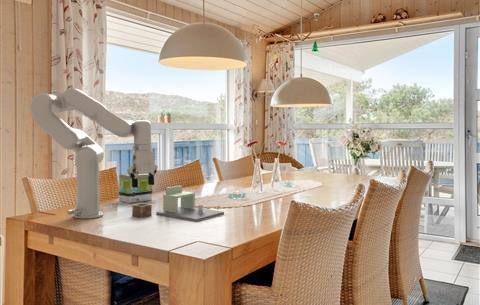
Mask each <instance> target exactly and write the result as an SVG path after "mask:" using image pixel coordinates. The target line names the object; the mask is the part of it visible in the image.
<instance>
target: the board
mask: <svg viewBox="0 0 480 305" xmlns="http://www.w3.org/2000/svg"><path fill="white" fill-rule="evenodd" d="M155 214H156V215H157V216H162V217H168V218H173V219H179V220H185V221H191V222H196V223H197V222H200V221H201V222H202V221H204V220H208V219H212V218H215V217H220V216H223V215H225V211H221V210H216V209H209V208H204V205H203V204H202V203H201V204H198V207H197V206H195V208H194V209H192V208H186V207H181V206H178V212H177V213H175V212H169V211H163V210H159V211H156V213H155Z"/></svg>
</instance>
